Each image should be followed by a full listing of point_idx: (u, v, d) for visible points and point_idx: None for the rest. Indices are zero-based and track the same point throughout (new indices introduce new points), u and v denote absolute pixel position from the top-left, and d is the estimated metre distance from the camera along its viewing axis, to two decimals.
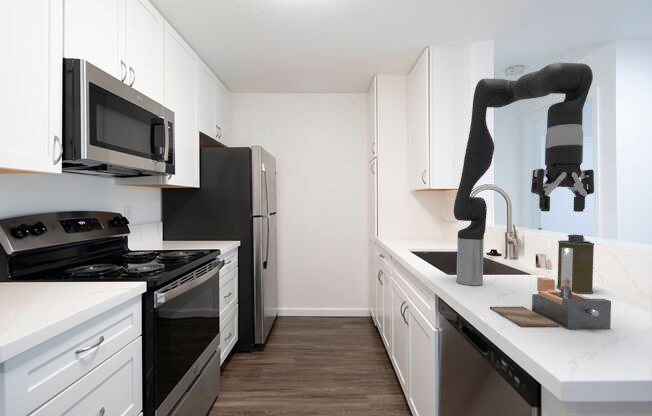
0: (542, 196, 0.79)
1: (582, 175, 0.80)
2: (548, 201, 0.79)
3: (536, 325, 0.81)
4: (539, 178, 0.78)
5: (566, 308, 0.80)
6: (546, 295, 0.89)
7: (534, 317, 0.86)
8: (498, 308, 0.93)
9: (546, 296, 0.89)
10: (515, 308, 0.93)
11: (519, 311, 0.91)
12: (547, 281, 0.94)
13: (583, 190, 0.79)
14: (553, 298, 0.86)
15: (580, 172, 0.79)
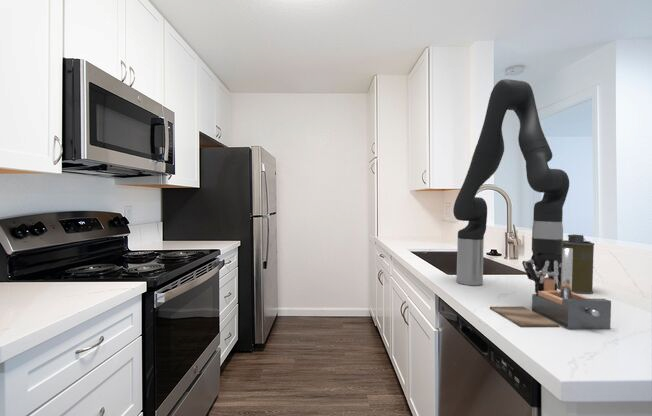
0: (537, 283, 0.95)
1: None
2: (542, 288, 0.94)
3: (536, 325, 0.81)
4: (530, 270, 0.94)
5: (566, 308, 0.80)
6: (546, 295, 0.89)
7: (534, 317, 0.86)
8: (498, 308, 0.93)
9: (546, 296, 0.89)
10: (515, 308, 0.93)
11: (519, 311, 0.91)
12: (547, 281, 0.94)
13: (555, 278, 0.94)
14: (553, 298, 0.86)
15: None
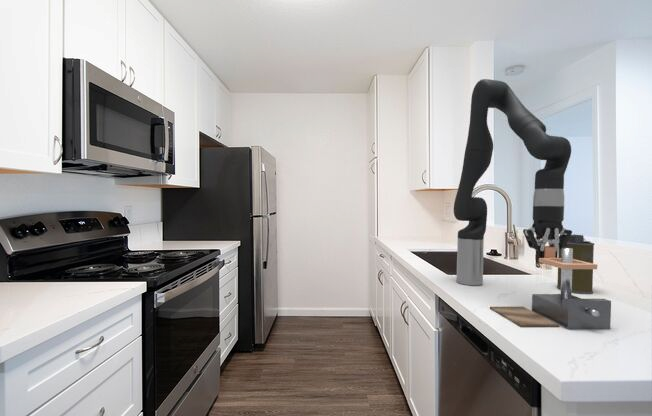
0: (538, 251, 0.94)
1: (562, 232, 0.95)
2: (543, 255, 0.94)
3: (536, 325, 0.81)
4: (531, 238, 0.93)
5: (566, 308, 0.80)
6: (547, 261, 0.89)
7: (534, 317, 0.86)
8: (498, 308, 0.93)
9: (547, 262, 0.89)
10: (515, 308, 0.93)
11: (519, 311, 0.91)
12: (548, 249, 0.93)
13: (556, 246, 0.94)
14: (553, 263, 0.86)
15: (561, 228, 0.94)
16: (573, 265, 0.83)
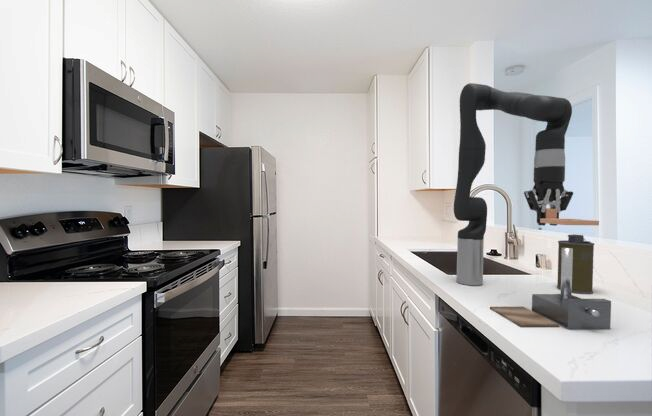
0: (539, 212, 0.94)
1: (563, 193, 0.94)
2: (544, 217, 0.94)
3: (536, 325, 0.81)
4: (532, 199, 0.93)
5: (566, 308, 0.80)
6: (548, 220, 0.88)
7: (534, 317, 0.86)
8: (498, 308, 0.93)
9: (548, 221, 0.88)
10: (515, 308, 0.93)
11: (519, 311, 0.91)
12: (549, 210, 0.93)
13: (557, 207, 0.94)
14: (555, 221, 0.86)
15: (563, 189, 0.94)
16: (575, 221, 0.83)
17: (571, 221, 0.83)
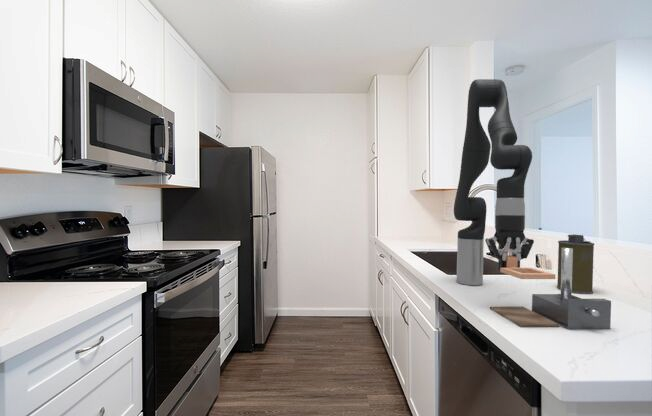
0: (500, 260, 0.94)
1: (524, 241, 0.94)
2: (505, 265, 0.93)
3: (536, 325, 0.81)
4: (492, 247, 0.93)
5: (566, 308, 0.80)
6: (507, 271, 0.88)
7: (534, 317, 0.86)
8: (498, 308, 0.93)
9: (507, 272, 0.88)
10: (515, 308, 0.93)
11: (519, 311, 0.91)
12: (510, 258, 0.93)
13: (518, 255, 0.93)
14: (513, 273, 0.85)
15: (523, 237, 0.93)
16: (531, 275, 0.82)
17: (527, 275, 0.82)
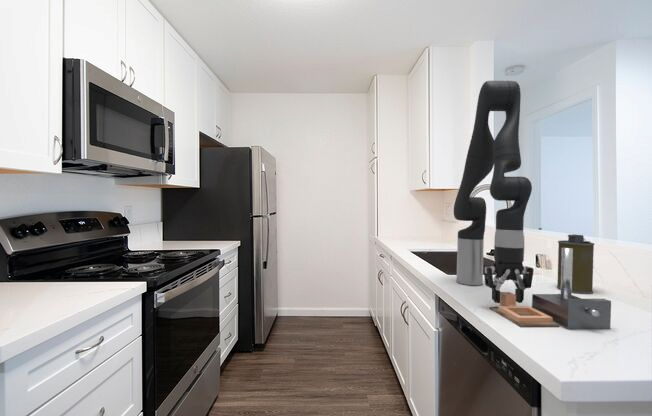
0: (494, 290, 0.94)
1: (524, 271, 0.94)
2: (498, 295, 0.93)
3: (536, 325, 0.81)
4: (489, 276, 0.93)
5: (566, 308, 0.80)
6: (505, 311, 0.88)
7: None
8: None
9: (505, 312, 0.88)
10: None
11: None
12: (508, 296, 0.93)
13: (522, 285, 0.94)
14: (510, 314, 0.86)
15: (522, 268, 0.94)
16: (528, 318, 0.83)
17: (524, 318, 0.83)
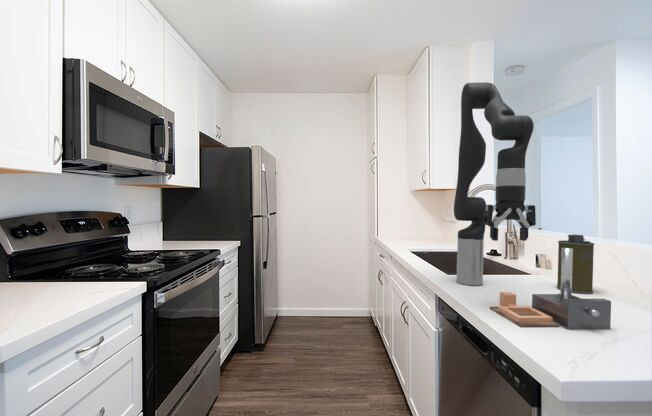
0: (492, 227, 0.94)
1: (526, 210, 0.94)
2: (496, 232, 0.93)
3: (536, 325, 0.81)
4: (489, 213, 0.93)
5: (566, 308, 0.80)
6: (505, 311, 0.88)
7: None
8: None
9: (505, 312, 0.88)
10: None
11: None
12: (508, 296, 0.93)
13: (526, 223, 0.93)
14: (510, 314, 0.86)
15: (524, 207, 0.93)
16: (528, 318, 0.83)
17: (524, 318, 0.83)
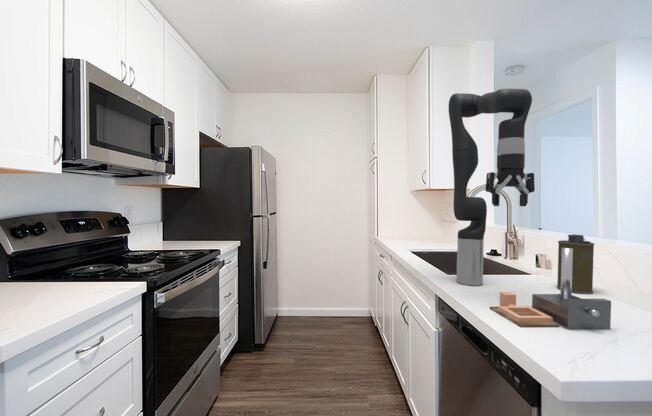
0: (493, 194, 1.00)
1: (525, 177, 1.01)
2: (498, 198, 0.99)
3: (536, 325, 0.81)
4: (491, 179, 0.99)
5: (566, 308, 0.80)
6: (505, 311, 0.88)
7: None
8: None
9: (505, 312, 0.88)
10: None
11: None
12: (508, 296, 0.93)
13: (526, 189, 1.00)
14: (510, 314, 0.86)
15: (523, 175, 1.00)
16: (528, 318, 0.83)
17: (524, 318, 0.83)
